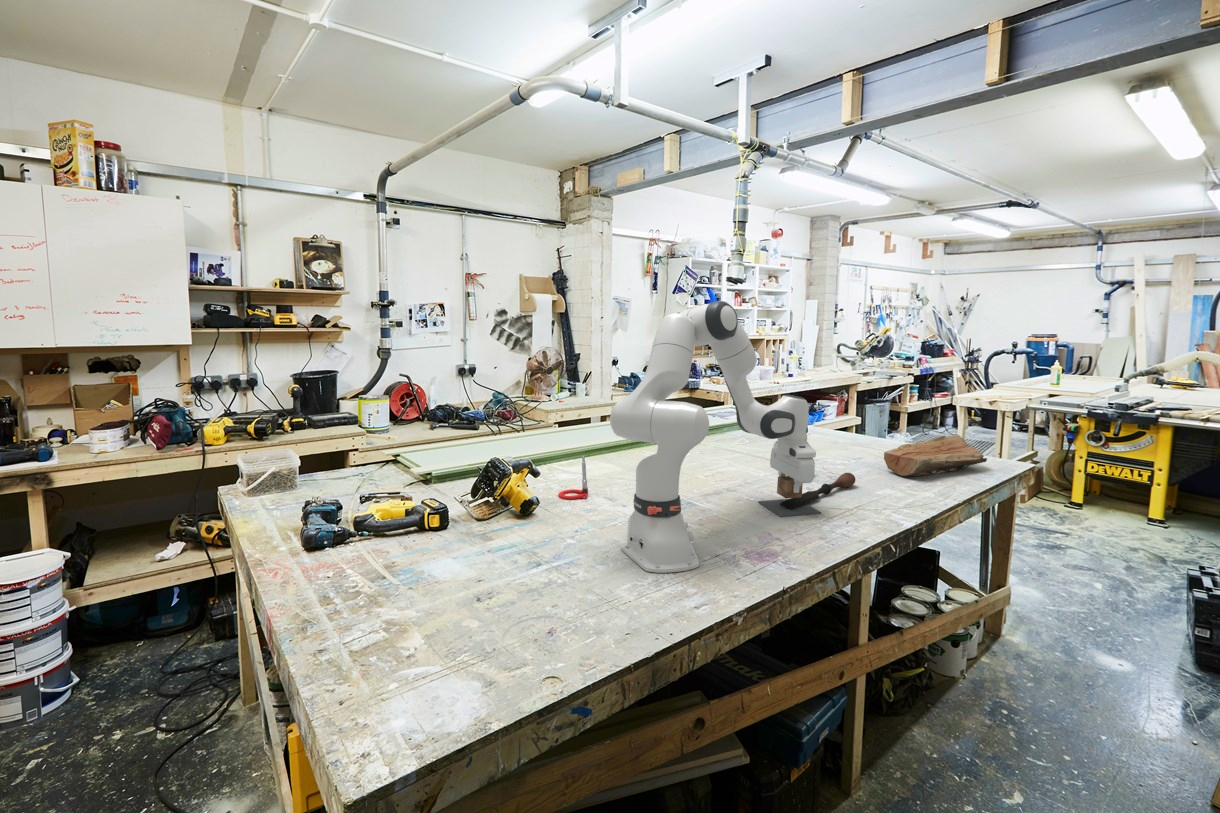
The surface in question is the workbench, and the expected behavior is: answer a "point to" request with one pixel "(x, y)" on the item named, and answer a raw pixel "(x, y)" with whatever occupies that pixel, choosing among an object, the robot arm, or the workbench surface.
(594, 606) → the workbench surface
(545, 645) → the workbench surface
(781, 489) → the walnut block
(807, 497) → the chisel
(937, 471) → the log
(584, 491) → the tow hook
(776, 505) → the charcoal mat
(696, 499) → the workbench surface
